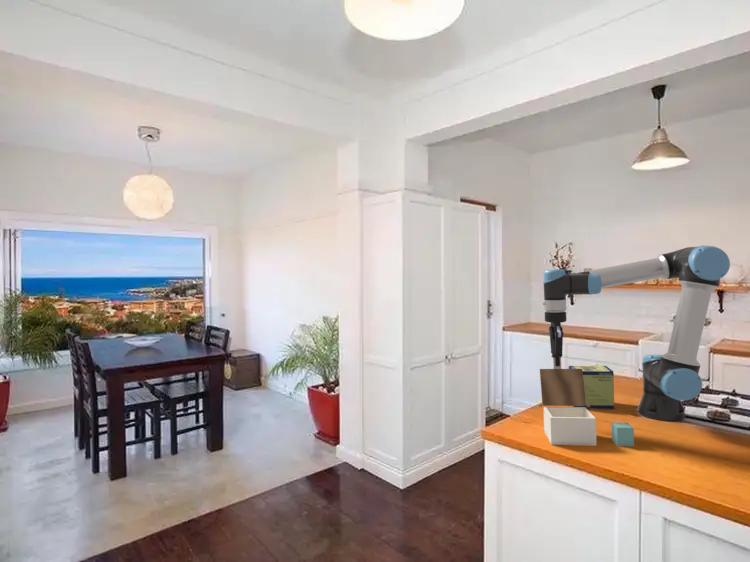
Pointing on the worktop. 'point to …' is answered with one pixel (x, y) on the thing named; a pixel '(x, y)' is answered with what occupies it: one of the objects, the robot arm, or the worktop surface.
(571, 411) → the box
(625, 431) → the block
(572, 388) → the lid
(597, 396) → the protein box
